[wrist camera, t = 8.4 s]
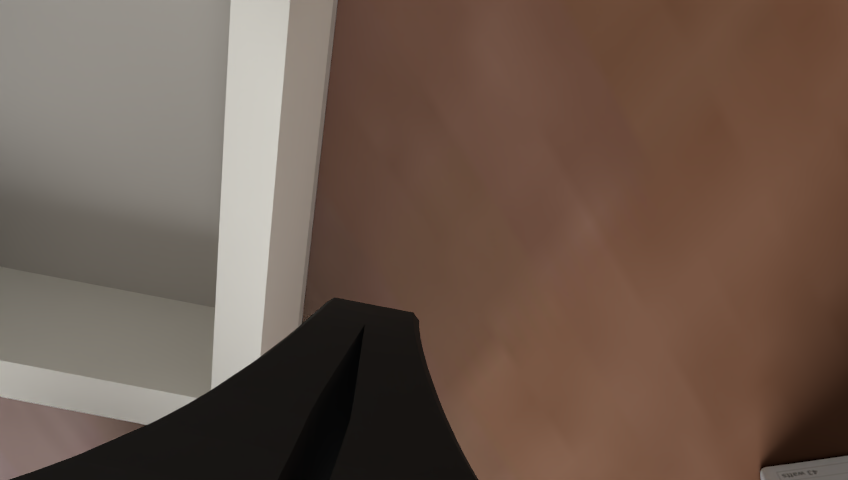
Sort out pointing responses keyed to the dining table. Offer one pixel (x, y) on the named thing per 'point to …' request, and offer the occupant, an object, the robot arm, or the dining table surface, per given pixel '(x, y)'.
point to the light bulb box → (809, 470)
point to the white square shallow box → (154, 193)
